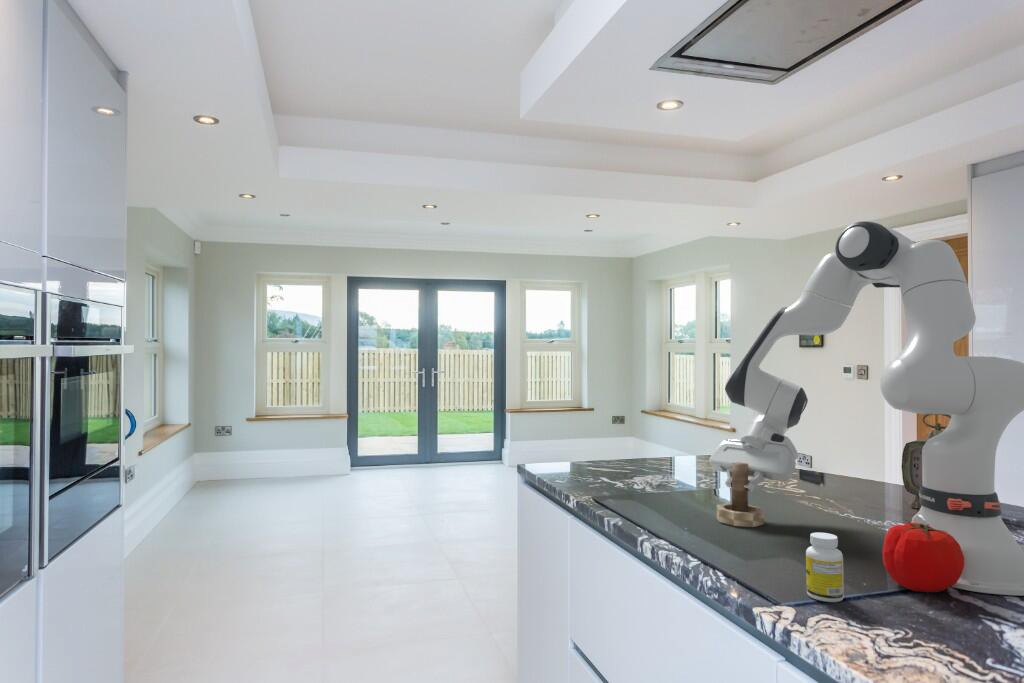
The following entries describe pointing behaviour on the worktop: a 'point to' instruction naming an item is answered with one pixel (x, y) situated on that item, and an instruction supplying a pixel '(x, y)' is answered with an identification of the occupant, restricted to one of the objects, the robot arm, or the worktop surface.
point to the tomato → (922, 557)
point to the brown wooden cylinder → (739, 487)
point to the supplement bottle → (824, 568)
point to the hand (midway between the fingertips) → (738, 487)
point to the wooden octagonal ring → (740, 516)
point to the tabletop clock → (916, 460)
